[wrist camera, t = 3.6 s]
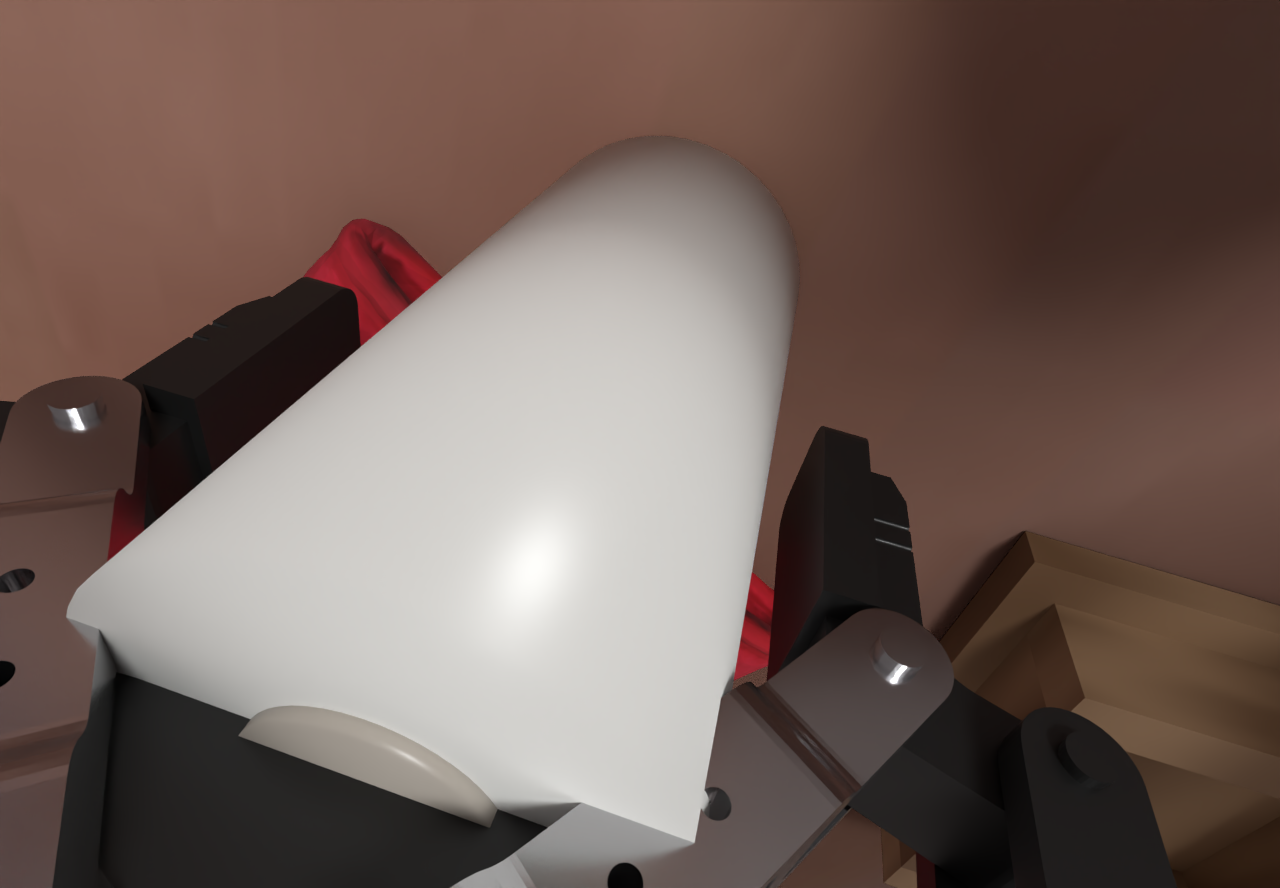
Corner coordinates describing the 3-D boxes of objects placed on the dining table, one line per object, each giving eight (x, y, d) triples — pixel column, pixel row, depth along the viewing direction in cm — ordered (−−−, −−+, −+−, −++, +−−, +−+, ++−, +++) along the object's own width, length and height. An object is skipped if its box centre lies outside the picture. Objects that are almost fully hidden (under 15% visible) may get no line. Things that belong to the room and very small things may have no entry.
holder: (1558, 687, 16) (1713, 851, 13) (1192, 886, 23) (1240, 1017, 20) (1025, 531, 16) (1063, 654, 14) (837, 773, 24) (837, 884, 21)
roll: (839, 174, 12) (788, 746, 4) (759, 422, 16) (638, 1015, 7) (542, 105, 13) (-87, 467, 4) (527, 358, 17) (161, 840, 8)
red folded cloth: (818, 613, 20) (815, 730, 17) (259, 844, 43) (217, 912, 40) (381, 193, 15) (274, 256, 13) (12, 701, 38) (-57, 766, 35)
